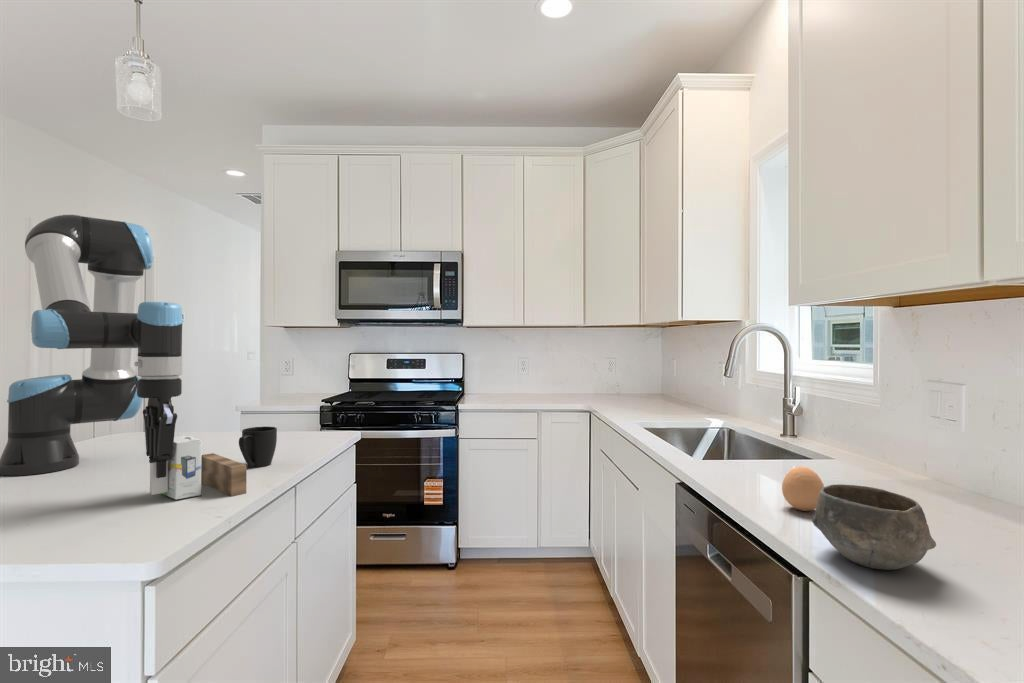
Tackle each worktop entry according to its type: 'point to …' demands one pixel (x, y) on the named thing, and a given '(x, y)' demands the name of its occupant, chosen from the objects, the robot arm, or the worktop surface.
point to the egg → (802, 488)
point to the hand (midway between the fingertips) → (158, 492)
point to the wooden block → (223, 474)
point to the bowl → (873, 526)
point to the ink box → (185, 468)
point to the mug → (258, 445)
